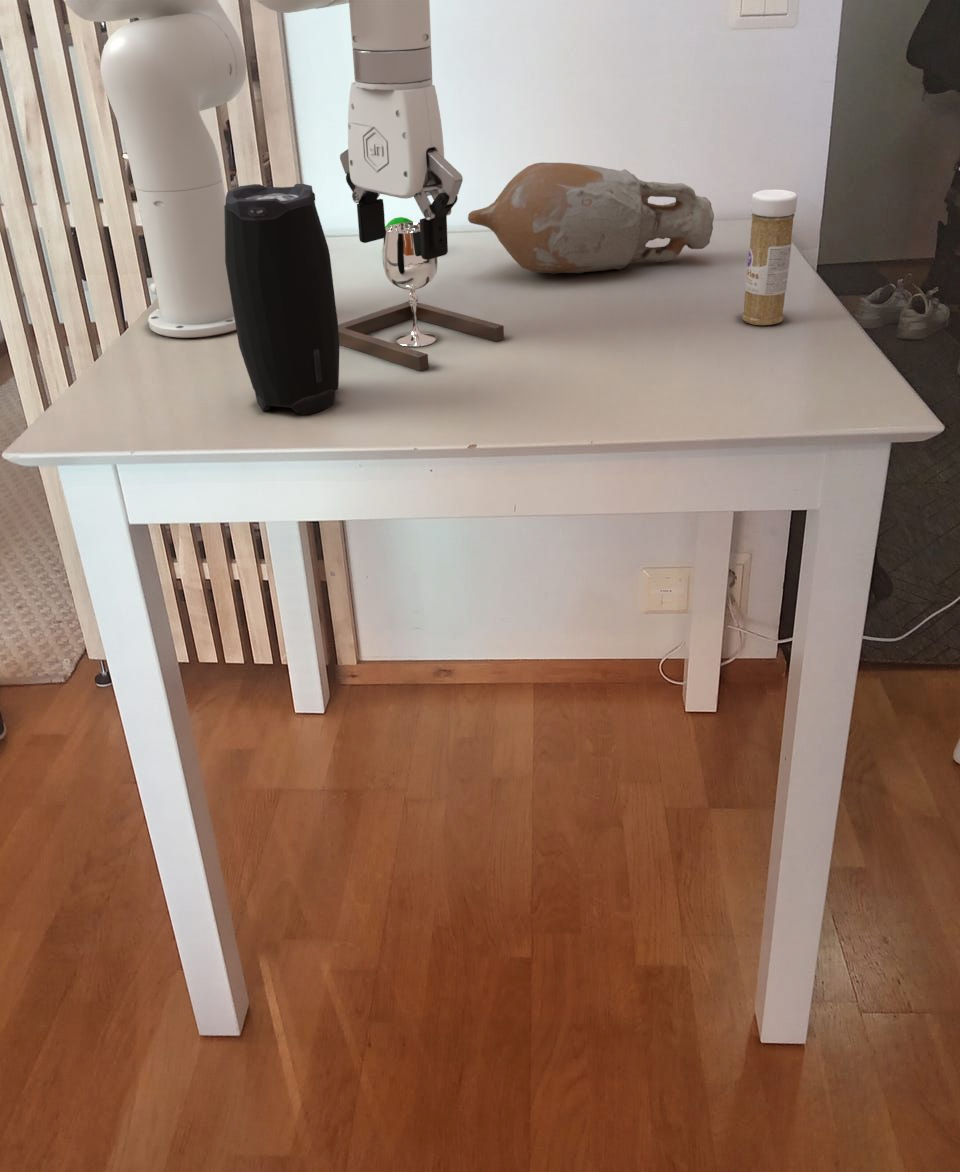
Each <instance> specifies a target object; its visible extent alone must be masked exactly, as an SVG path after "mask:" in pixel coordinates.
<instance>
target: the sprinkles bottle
mask: <svg viewBox="0 0 960 1172" xmlns="http://www.w3.org/2000/svg"><path fill="white" fill-rule="evenodd" d="M750 204H751V206H750V212H751V217H752V218H751V228H750V240H749V247H748V253H747V265H746V266H747V267H746V275H745V285H744V290H745V291H744V302H743V311H742V313H741V319H742V320H743V321H744V322H745V323H748V324H750V325H754V326H770V325H771V326H772V325H776V324H779V323H782V322H783V320H784V317H785V315H784V306H785V300H786V299H785V298H786V297H785V296H786V292H787V287H788V280H789V279H788V278H789V269H790V260H791V252H792V251H791V250H792V236H793V226H794V218H795V213H796V212H797V207H798V206H797V205H798V194H797V193H796V192H794V191H792V190H786V189H763V190H759V191H756V192H753V194H752V197H751V203H750Z"/></svg>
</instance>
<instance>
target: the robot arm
mask: <svg viewBox="0 0 960 1172" xmlns="http://www.w3.org/2000/svg"><path fill="white" fill-rule="evenodd" d="M62 1H63V2H64V3H65V5H66V6H67V7H68V8H69V9H70V10H71V12H73V13H74V14H75V16H77V17H79V18H80V19H83V20H85V21H89V22H93V23H104V22H105V23H106V22H117V21H125V20H129V19H130V20H131V19H138V20H134V21H131V22H129V23H126V24H123V26H120V27H119V28H118V29H116V30H115V31H114V32H113V33H112V34H111V35H110V36H109V38H108V39H107V40H106V43H105V44H104V47H103V49H102V52H101V57H100V75H101V79H102V84H103V88H104V91H105V94H106V97H107V99H108V102H109V104H110V107H111V109H112V111H113V114H114V117H115V119H116V122H117V124H118V127H119V130H120V134H121V137H122V140H123V144H124V147H125V151H126V155H127V159H128V163H129V168H130V169H129V170H130V173H131V177H132V182H133V187H134V190H135V191H134V192H135V195H136V201H137V205H138V209H139V214H140V219H141V224H142V229H143V234H144V239H145V245H146V248H147V254H148V258H149V264H150V269H151V272H152V277H153V282H152V283H150V285H149V291H150V293H152V294H153V295H156V298H157V302H158V308H156V309H155V310H153V311H152V312H151V313H150V314H149V316H148V317H147V320H148V326H149V329H150V330H151V331H152V332H154V333H155V334H157V335H160V336H163V337H170V338H182V339H183V338H184V339H188V338H190V339H191V338H203V337H212V336H218V335H223V334H226V333H231V332H234V331H237V330H236V324H235V318H234V312H233V306H232V300H231V294H230V288H229V282H228V276H227V270H226V264H225V213H224V205H225V204H226V190H225V183H224V180H223V179H224V178H223V173H222V168H221V163H220V158H219V154H218V150H217V149H216V146H215V143H214V140H213V138H212V135H211V134H210V132H209V130H208V128H207V126H206V124H205V122H204V120H203V118H202V116H201V113H200V112H202V111H206V110H209V109H212V108H216V107H219V106H222V105H224V104H226V103H229V102H230V101H232V100H233V99H235V97H236V96H237V95H239V94H240V92H241V90H242V88H243V86H244V84H245V81H246V78H247V77H246V76H247V59H246V58H247V57H246V53H245V49H244V47H243V44H242V41H241V39H240V36H239V34H238V32H237V30H236V29H235V26H234V25H233V24H232V22H231V20H230V18H229V17H228V15H227V14H226V12H225V10H224V8H223V7H222V5H221V4H220V2H219V0H62ZM255 1H256V2H257V3H259V4H260V5H261V6H264V7H265V8H267V9H269V10H272V11H274V12H277V13H282V14H291V13H298V12H304V11H309V10H314V9H316V10H318V9H325V8H330V7H331V8H332V7H335V6H341V5H346V4H348V5H349V6H348V7H349V20H350V21H349V22H350V33H351V35H350V36H351V47H352V62H353V73H354V74H353V75H354V81H353V82H351V84H350V89H349V98H348V110H347V111H348V112H347V149H346V150H344V151H343V152H341V153H340V155H339V160H340V163H341V166H342V169H343V171H344V174H345V181H346V183H347V185H348V187H349V188H350V190H351V192H352V193H351V199H352V201H353V202H354V204H356V212H357V224H358V237H359V242H360V243H363V244H367V243H371V242H375V241H378V240H384V235H385V226H386V220H385V219H386V218H385V206H384V205H385V203H384V199H383V198H379V197H380V195H383V196H384V195H385V196H389V197H392V198H393V197H394V198H397V199H398V198H399V199H405V200H407V199H412V198H413V199H414V200H415V202H416V205H417V206H418V208H419V210H420V212H421V213H422V215H423V218H420V219H419V223H420V242H421V256H422V258H423V259H425V260H429V259H433V258H436V257H437V258H439V257H443V256H446V255H447V254H448V251H449V247H448V246H449V245H448V242H449V241H448V220H447V219H448V216H450V215H451V214H452V209H453V208H454V206H455V205H456V203H457V202H458V200H459V199H458V195H459V192H460V190H461V186H462V184H463V175H462V173H460V171H458V170H457V169H456V168H455V167H454V166H453V165H452V164H451V162H449V161H448V160H447V159H446V158H445V147H444V135H443V127H442V126H443V125H442V119H441V112H440V111H441V110H440V106H439V100H438V95H437V91H436V85H434V84H433V63H432V62H433V60H432V57H433V56H432V36H431V35H432V32H431V9H430V8H431V5H430V4H431V3H430V0H255ZM430 196H431V199H432V200H433V201H432V202H431V201H430V199H429V197H430Z"/></svg>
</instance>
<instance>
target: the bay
mask: <svg viewBox="0 0 960 1172" xmlns="http://www.w3.org/2000/svg"><path fill="white" fill-rule="evenodd" d="M416 315H417V320H419V321H423V322H425V323H426V322H427V323H430V324H433V325H437V326H439V327H440V326H441V327H444V328H448V329H451V330H454V331H458V332H461V333H465V334H469V335H472V336H475V337H479V338H482V339H486V340H490V341H493V342H500V341H502V340H505V325H503V324H500V323H495V322H492V321H488V320H485V319H481V318H477V317H473V316H470V315H467V314H463V313H459V312H455V311H452V310H448V309H444V308H440V307H437V306H433V305H429V304H426V303H422V302H419V301H418V303H417V310H416ZM410 319H411V320H412V319H413V317H412V310H411V305H410V303H409V300H408V301H405V302H401V303H399V304H395V305H393V306H390V307H387V308H384V309H381V310H378V311H374V312H372V313H369V314H366V315H363V316H360V317H357V318H354V319H351V320H348V321H345V322H342V323H338V333H339V345H340V346H343V347H345V348H349V349H352V350H355V351H357V352H360V353H364V354H366V355H370V356H373V357H376V358H379V359H383V360H386V361H389V362H392V363H395V364H397V365H400V366H403V367H406V368H410V369H413V370H415V371H419V372H422V371H424V370H428V369H430V365H429V364H430V363H429V354H428V353H425V352H423V351H419V350H416V349H413V348H411V347H407V346H402V345H399V344H397V343H394V342H390V341H387V340H385V339H381V338H378V337H374V336H371V335H368V334H371V333H373V332H376V331H379V330H381V329H384V328H388V327H390V326H394V325H396V324H399V323H403V322H405V321H409V320H410Z"/></svg>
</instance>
